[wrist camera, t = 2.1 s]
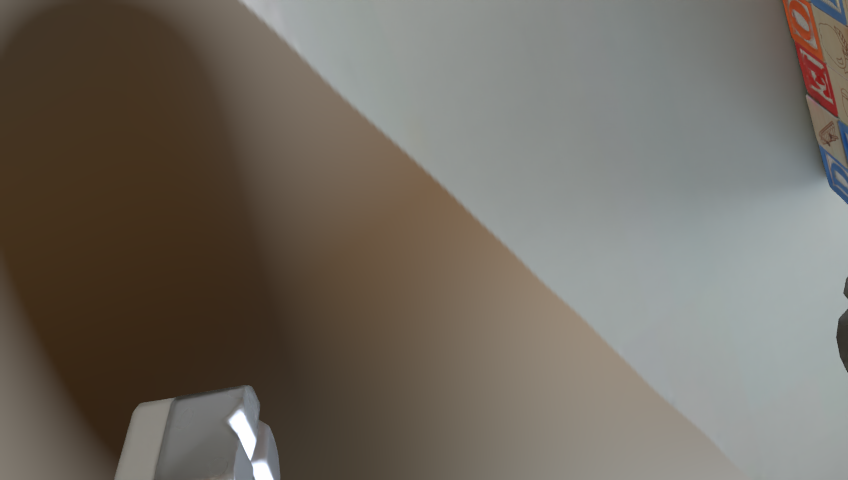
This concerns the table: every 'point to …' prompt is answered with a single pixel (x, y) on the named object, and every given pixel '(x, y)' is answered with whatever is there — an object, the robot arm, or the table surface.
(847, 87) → the stack of blocks
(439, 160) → the table surface
